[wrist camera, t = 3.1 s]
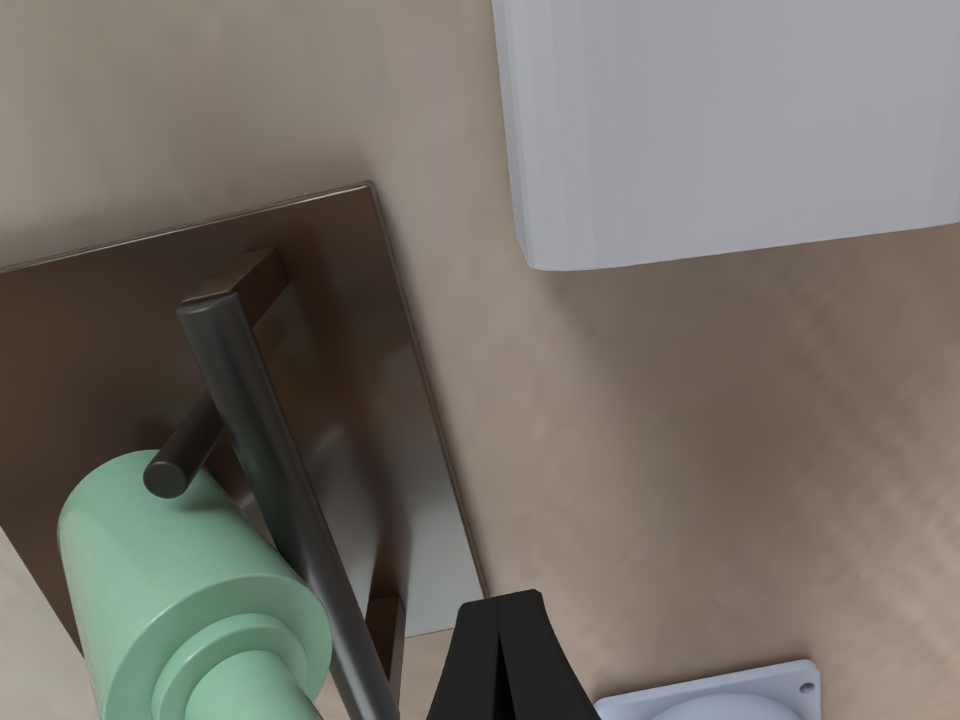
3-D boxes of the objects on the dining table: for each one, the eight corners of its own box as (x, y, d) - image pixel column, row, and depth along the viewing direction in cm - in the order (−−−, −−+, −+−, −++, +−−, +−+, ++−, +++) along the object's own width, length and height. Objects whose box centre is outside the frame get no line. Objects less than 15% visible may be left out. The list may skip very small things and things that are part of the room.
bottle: (410, 503, 19) (375, 909, 10) (136, 563, 19) (-152, 1011, 10) (370, 382, 18) (287, 725, 8) (75, 449, 18) (-335, 854, 8)
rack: (491, 603, 22) (503, 754, 17) (119, 679, 22) (26, 845, 17) (372, 179, 16) (339, 221, 11) (-116, 295, 17) (-346, 381, 12)
